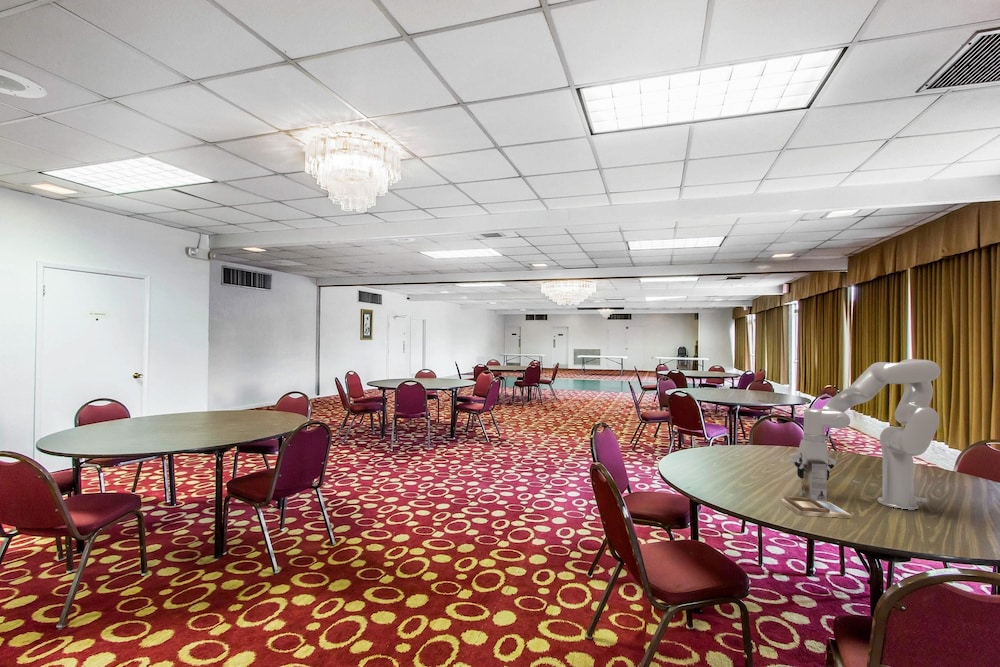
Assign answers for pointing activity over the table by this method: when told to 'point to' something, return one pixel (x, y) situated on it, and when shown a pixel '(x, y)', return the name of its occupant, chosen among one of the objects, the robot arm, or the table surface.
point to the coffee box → (815, 481)
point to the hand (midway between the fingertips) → (813, 478)
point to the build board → (813, 507)
